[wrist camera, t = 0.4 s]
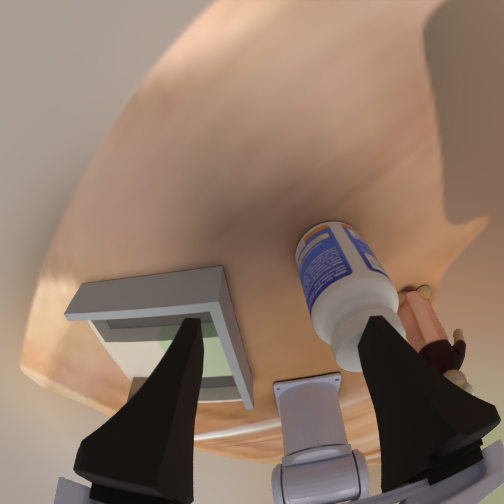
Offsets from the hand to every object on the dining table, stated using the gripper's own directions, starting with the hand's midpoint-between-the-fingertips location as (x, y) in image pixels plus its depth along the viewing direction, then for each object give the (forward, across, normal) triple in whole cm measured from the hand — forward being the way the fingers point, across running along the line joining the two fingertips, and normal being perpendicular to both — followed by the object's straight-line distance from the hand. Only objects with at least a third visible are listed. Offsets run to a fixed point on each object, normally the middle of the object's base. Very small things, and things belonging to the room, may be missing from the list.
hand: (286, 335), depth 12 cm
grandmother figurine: (+10, -14, +8) cm, 19 cm away
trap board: (+10, +8, +14) cm, 19 cm away
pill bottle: (+10, -5, +2) cm, 11 cm away
